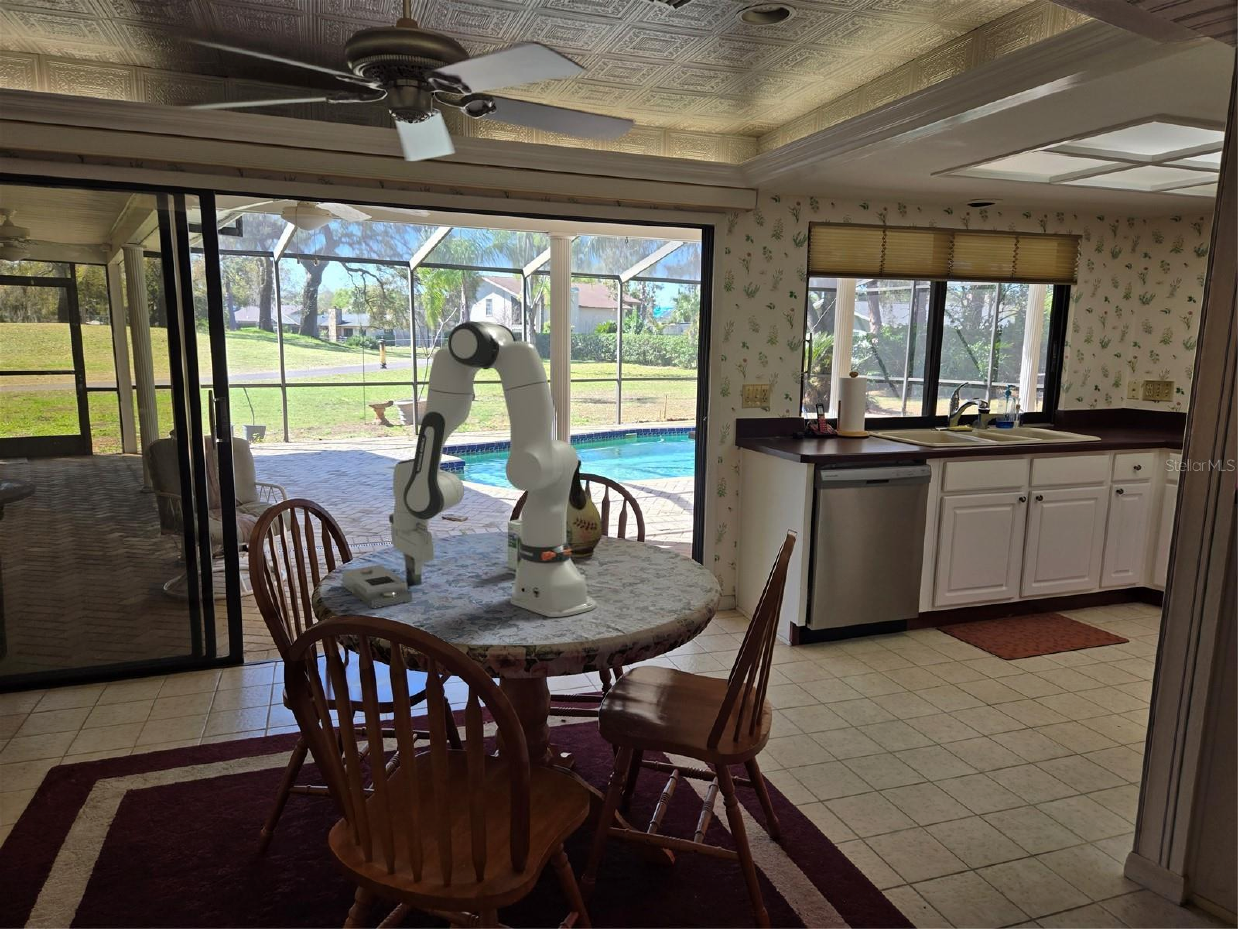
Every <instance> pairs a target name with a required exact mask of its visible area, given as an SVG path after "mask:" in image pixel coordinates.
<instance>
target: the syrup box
mask: <svg viewBox="0 0 1238 929" xmlns="http://www.w3.org/2000/svg"><path fill="white" fill-rule="evenodd" d="M521 541H522V529H521V519H514V520H513V519H512V520H509V521H508V522H507V573H509V574H513V575H515V576H516V569H517V567H518V566H519V564H520V561H521V557H520V551H519V547H520V542H521Z"/></svg>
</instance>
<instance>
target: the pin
mask: <svg viewBox="0 0 1238 929" xmlns="http://www.w3.org/2000/svg"><path fill="white" fill-rule="evenodd" d="M404 563H405V564H404V567H405V581H406V582H407V586H418V585H421V584H422V573H421V574H418V575H416V574H415V573H413V567H414V564H415V562H414V558H412V557H410V556H409V555H407V554H405V561H404Z"/></svg>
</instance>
